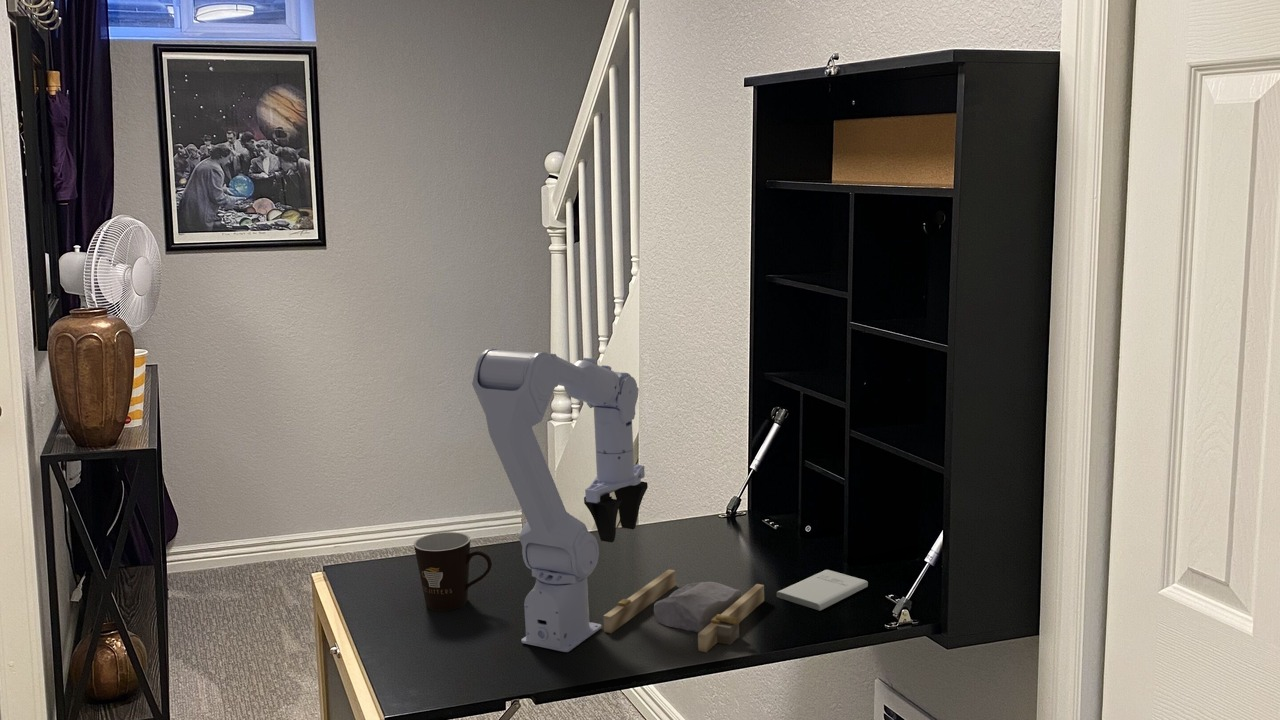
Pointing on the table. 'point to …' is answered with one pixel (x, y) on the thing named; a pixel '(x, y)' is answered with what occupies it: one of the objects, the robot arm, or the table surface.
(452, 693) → the table surface
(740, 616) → the beam track
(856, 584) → the external hard drive
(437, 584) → the coffee mug
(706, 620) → the stone block
